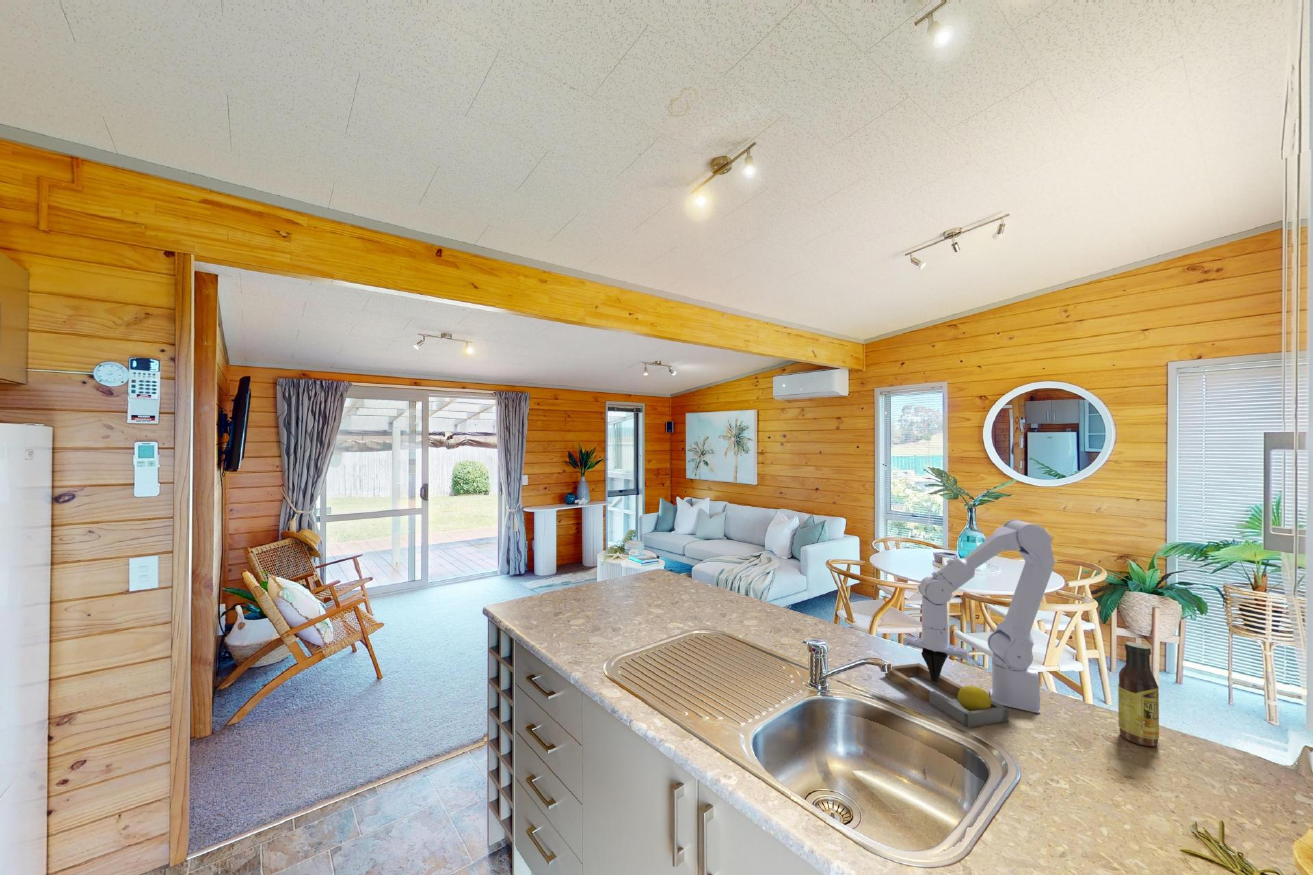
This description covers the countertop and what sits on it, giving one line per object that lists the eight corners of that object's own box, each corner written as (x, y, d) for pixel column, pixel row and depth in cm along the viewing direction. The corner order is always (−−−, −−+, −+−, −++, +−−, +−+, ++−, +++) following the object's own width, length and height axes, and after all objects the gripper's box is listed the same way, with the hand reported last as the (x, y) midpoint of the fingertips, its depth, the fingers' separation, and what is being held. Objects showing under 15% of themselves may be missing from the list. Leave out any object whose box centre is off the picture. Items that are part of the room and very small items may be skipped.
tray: (929, 704, 122) (929, 691, 122) (966, 698, 124) (966, 686, 124) (968, 728, 111) (968, 714, 111) (1007, 721, 114) (1007, 708, 114)
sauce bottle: (1151, 751, 103) (1149, 653, 103) (1113, 736, 108) (1111, 642, 109) (1165, 743, 106) (1163, 647, 106) (1126, 728, 111) (1125, 637, 112)
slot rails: (885, 676, 137) (885, 667, 137) (919, 672, 139) (919, 663, 139) (929, 704, 122) (929, 693, 122) (966, 698, 124) (966, 688, 124)
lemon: (961, 716, 119) (994, 720, 112) (946, 697, 119) (979, 700, 112) (968, 697, 122) (1001, 700, 115) (954, 679, 122) (986, 681, 116)
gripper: (971, 628, 125) (971, 684, 125) (908, 615, 135) (908, 667, 135) (965, 636, 120) (965, 694, 120) (900, 622, 130) (900, 675, 130)
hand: (935, 680), depth 127 cm, fingers closed
